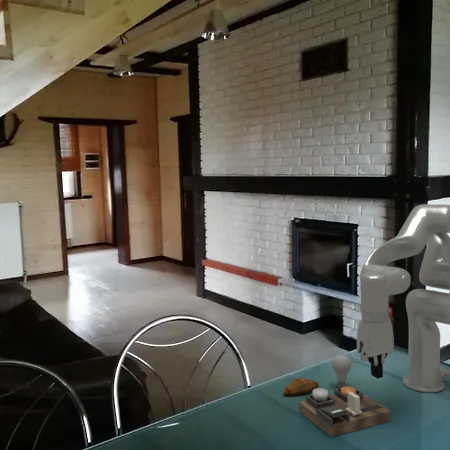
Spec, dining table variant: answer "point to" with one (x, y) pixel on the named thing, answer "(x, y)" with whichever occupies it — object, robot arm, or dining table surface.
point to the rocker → (333, 411)
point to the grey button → (320, 394)
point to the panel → (345, 423)
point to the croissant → (300, 387)
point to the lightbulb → (341, 368)
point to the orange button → (347, 390)
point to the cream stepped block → (353, 404)
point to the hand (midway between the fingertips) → (377, 376)
